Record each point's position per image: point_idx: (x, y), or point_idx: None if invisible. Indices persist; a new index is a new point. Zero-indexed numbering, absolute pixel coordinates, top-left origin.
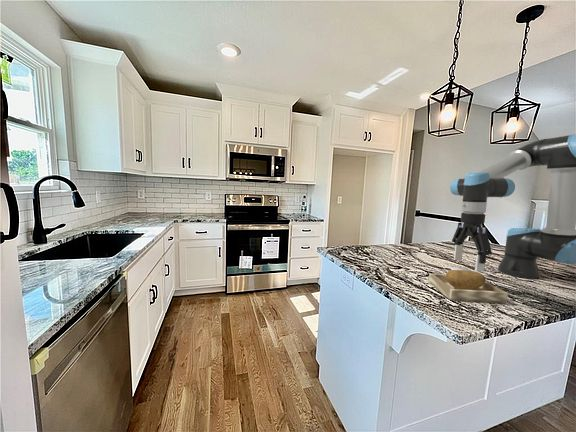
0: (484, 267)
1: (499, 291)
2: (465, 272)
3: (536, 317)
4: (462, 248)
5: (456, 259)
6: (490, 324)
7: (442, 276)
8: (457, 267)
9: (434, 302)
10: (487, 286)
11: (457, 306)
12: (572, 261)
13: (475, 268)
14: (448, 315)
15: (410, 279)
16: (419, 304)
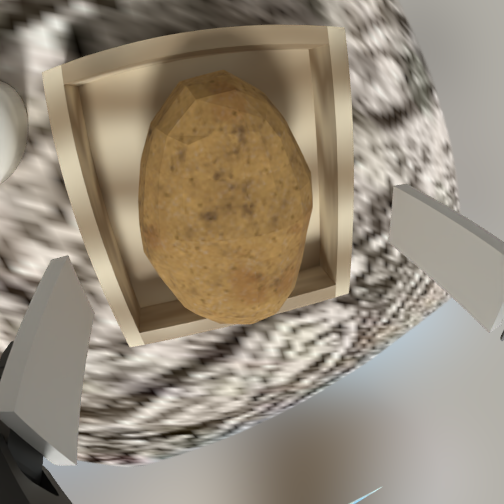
0: (432, 198)
1: (309, 44)
2: (276, 247)
3: (406, 20)
4: (28, 370)
5: (87, 307)
6: (450, 207)
7: (122, 286)
8: None
9: (347, 317)
10: (201, 52)
11: (370, 258)
12: None
13: (401, 250)
14: (412, 293)
15: (135, 369)
16: (359, 349)
